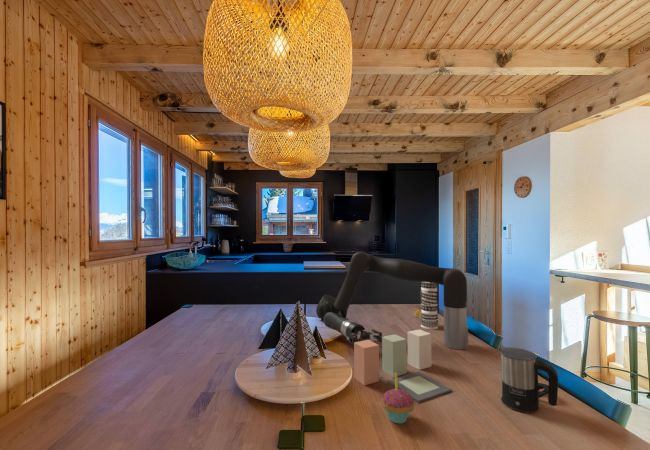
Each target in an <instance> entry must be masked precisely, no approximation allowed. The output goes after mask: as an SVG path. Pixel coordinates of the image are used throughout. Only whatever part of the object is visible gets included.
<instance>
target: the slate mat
mask: <svg viewBox="0 0 650 450" xmlns="http://www.w3.org/2000/svg"><path fill="white" fill-rule="evenodd" d="M397 382H398V389H401V390H403V391H405V392H407V393H409V394H410V395H411V397H412V398H413V400H414V402H417V403H418V404H419V403H421V402H424V401H427V400H430V399H433V398H436V397H439V396H442V395H445V394H447V393H451V392H453V390H452V388H451V387H449V386H447V385H445V384H443V383H441V382H439V381H438V380H437V379H434V378H432V377H431V376H428V375H426V374H424V373H423V372H421V371H416V372H412V373H409V374H404V375H401V376H397ZM387 383H388V384H390V385H391V386H393V387H394V388H395V377H393V378H392V379H388V380H387Z"/></svg>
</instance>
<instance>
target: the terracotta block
mask: <svg viewBox="0 0 650 450" xmlns="http://www.w3.org/2000/svg"><path fill="white" fill-rule="evenodd" d="M353 361H354V363H353V370H354V371H353V375H354V377H353V378H354V379H355V380H357V382H360V384H362V385H363V386H367V385H370V384H374V383H376V382H377V383H378V382H380V345H379V344H378V343H376V342H374V341H370V340H364V341H359V342H354V345H353Z"/></svg>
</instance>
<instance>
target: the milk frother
mask: <svg viewBox="0 0 650 450" xmlns="http://www.w3.org/2000/svg"><path fill="white" fill-rule="evenodd" d="M499 353H500V357H501V361H500V362H501V385H502V387H501V399H500V400H501V402H502V404H504V405H505V406H506V407H507V408H509V409H512V410H514V411H517V412H520V413H529V414H530V413H535V412H537V411H539V409H540V408H539V407H540V406H539V403H540V401H539V400H540V398H543V397H544V396H546V395H548V397H547V402H548V404H549V406H553V407H555V406H557V405H558V393H559V392H558V391H559V376H558V372H557V370H556V369H555V367H554V366H553V365H551V363H548V362H546V361H544V360H538V359H537V357H538V356H537V354H536V353H535V352H533V351H531V350H528V349H524V348H519V347H509V346H508V347H502V348H500V349H499ZM539 371H543V372H545V373H546V374H547V375H548V384H546V383H542V382H539V375H538V374H539ZM540 390H541V391H540Z"/></svg>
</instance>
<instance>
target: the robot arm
mask: <svg viewBox="0 0 650 450" xmlns="http://www.w3.org/2000/svg"><path fill="white" fill-rule="evenodd" d="M347 270H348V271H347V274H346V276H345V278H344V281H343V284H342V285H341V287H340V289H339V292H338V294H337V296H336V301H335V303H334V307H335V308H336V309H337V310H339V314H336V313H333V312H328V313H326V314H325V316H324V319H323V320H322V321H323V323H324V325H325V327H326V328H328V329H330V330H331V329H332V330H334V331H336V332H337V333H338V332H339V334H341V335H343V336H344V337H345V338H346V341H347V342H349V343H350V344H351V345H353V346H354V342H359V341H364V340H370V341H372V342H374V341H377V342H379V343H381V344H382V337H383V333H382V332H381V331H379V330H376V329H373V328H372V329H371V330H370V331H369V330H368V329H365V327H364V325H362V324H360V323H358V322H356V321H354V320H352V319H348V318H347V316H348V310H349V307H350V306H351V303H352V301H353V299H354V295H355V292H356V290H357V289H356V288H357V286H358V283H359V282H360V278H361V277H362V275H363V274H364V272H369V273H370V272H372V273H380V274H383V275H386V276H389V277H392V278H394V279H399V280H403V281H407V282H414V283H415V282H419V283H422V282H432V283H437V285H441V286H443V342H444V343H443V344H444V346H445V347H447V348H450V349H453V350H464V349H465V350H467V349H469V326H468V324H467V321H468V320H467V318H468V317H467V316H468V315H467V304H468V303H467V302H468V283H467V282H468V280H467V277H466V275H465V273H464V272H463V271H461V270H460V269H458V268H454V267H453V268H452V267H451V268H450V267H439V266H431V265H429V264H424V263H421V262H417V261H412V260H407V259H402V258H401V259H400V258H387V257H380V256H377V255H376V256H375V255H372V254H369V253H366V252H364V251H358V252H356V253H353V254H352V257H351V259H350V262H349V267H348V269H347Z"/></svg>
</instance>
